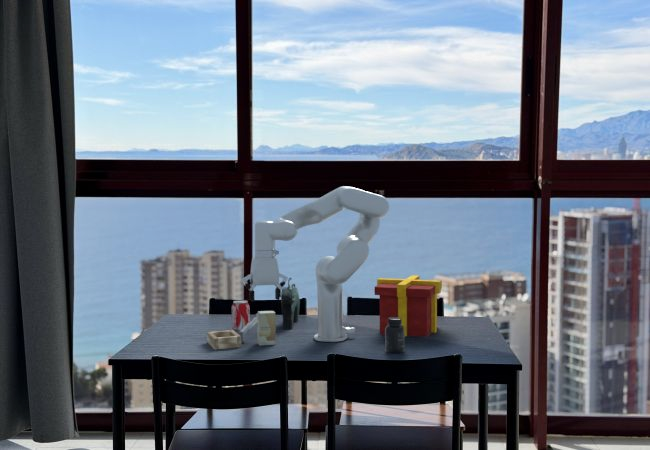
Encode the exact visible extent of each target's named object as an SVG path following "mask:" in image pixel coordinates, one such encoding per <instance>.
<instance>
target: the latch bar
mask: <svg viewBox="0 0 650 450" xmlns="http://www.w3.org/2000/svg"><path fill="white" fill-rule="evenodd" d="M256 324H258V312H257V313H255V315H254V317H253V318H252V319H250V322H249V323H248V324H247V325H246V326H245V327H244V328H243V329H242V330H241V331H240V332H243V336H245V335H246V334H247V332H249V331H250V330H251V329H252V328H253V327H254V326H255V325H256Z"/></svg>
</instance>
